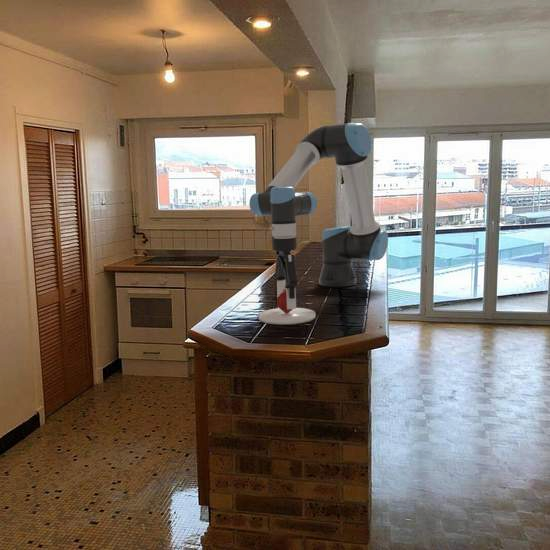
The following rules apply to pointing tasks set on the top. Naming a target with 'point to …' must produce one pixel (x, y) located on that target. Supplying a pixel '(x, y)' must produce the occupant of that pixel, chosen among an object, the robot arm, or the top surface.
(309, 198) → the robot arm
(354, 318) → the top surface
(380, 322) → the top surface
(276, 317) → the plate
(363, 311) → the top surface
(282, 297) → the onion
